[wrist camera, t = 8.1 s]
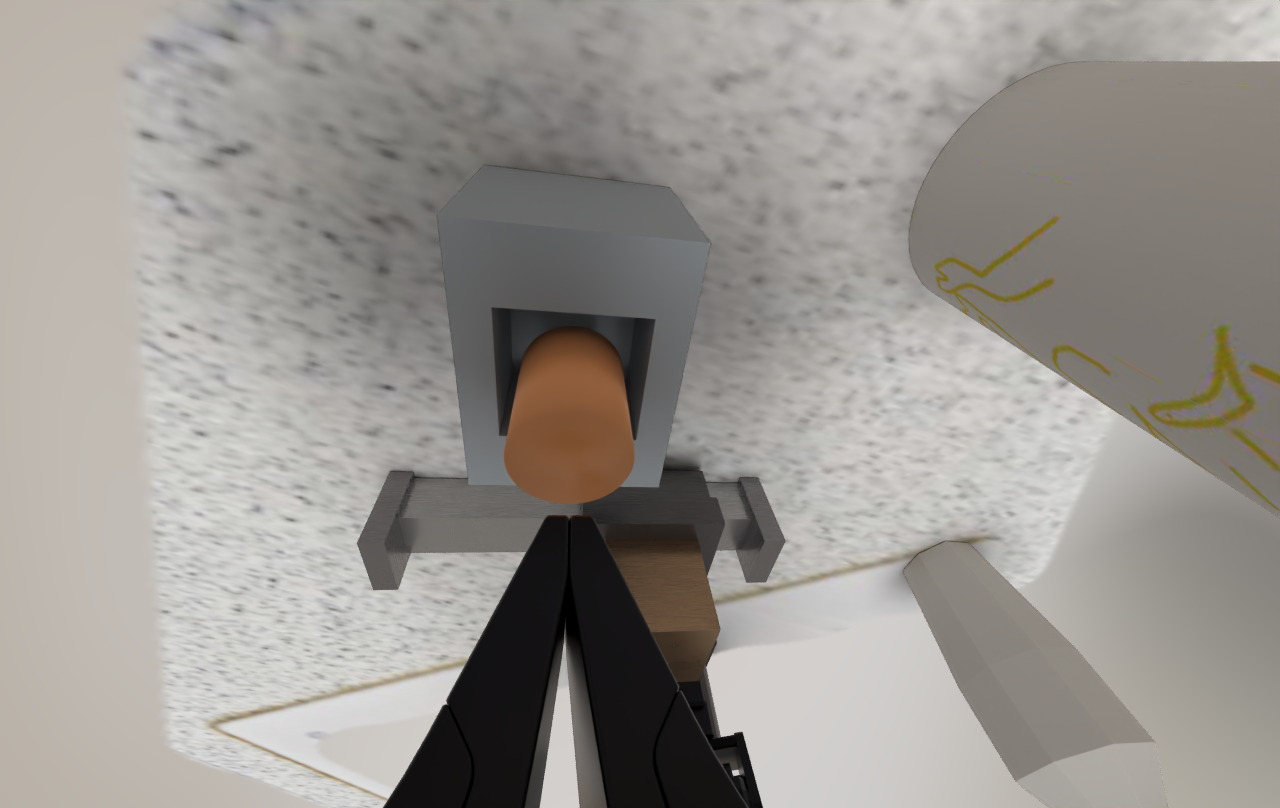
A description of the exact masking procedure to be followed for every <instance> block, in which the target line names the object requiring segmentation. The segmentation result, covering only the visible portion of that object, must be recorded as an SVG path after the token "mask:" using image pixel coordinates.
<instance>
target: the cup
mask: <svg viewBox="0 0 1280 808" xmlns="http://www.w3.org/2000/svg"><path fill="white" fill-rule="evenodd" d="M909 251H910V257H911V261H912V265H913V268H914V270H915V272H916V274H917V276H918V278H919V279H920V281H921V282H922V283H923V284H924V285H925V287H926V288H928V289H929V290H930V291H931V292H933V293H934V294H936V295H937V296H939V297H940V298H942V299H943V300H945V301H946V302H948V303H949V304H951V305H953V306H954V307H956V308H957V309H959V310H960V311H962V312H963V313H965V314H966V315H968V316H969V317H971V318H973V319H974V320H976V321H977V322H979V323H980V324H982V325H983V326H985V327H986V328H988V329H989V330H991V331H993V332H994V333H996V334H997V335H999V336H1000V337H1002V338H1003V339H1005V340H1006V341H1008V342H1009V343H1011V344H1012V345H1014V346H1016V347H1017V348H1019V349H1020V350H1022V351H1023V352H1025V353H1026V354H1028V355H1029V356H1031V357H1032V358H1034V359H1036V360H1037V361H1039V362H1040V363H1042V364H1043V365H1045V366H1046V367H1048V368H1049V369H1051V370H1052V371H1054V372H1056V373H1057V374H1059V375H1060V376H1062V377H1063V378H1065V379H1066V380H1068V381H1069V382H1071V383H1072V384H1074V385H1076V386H1077V387H1079V388H1080V389H1082V390H1083V391H1085V392H1086V393H1088V394H1089V395H1091V396H1092V397H1094V398H1095V399H1097V400H1099V401H1100V402H1102V403H1103V404H1105V405H1106V406H1108V407H1109V408H1111V409H1112V410H1114V411H1115V412H1117V413H1119V414H1120V415H1122V416H1123V417H1125V418H1126V419H1128V420H1129V421H1131V422H1132V423H1134V424H1136V425H1137V426H1139V427H1140V428H1142V429H1143V430H1145V431H1146V432H1148V433H1149V434H1151V435H1153V436H1154V437H1155V438H1157V439H1159V440H1160V441H1162V442H1163V443H1165V444H1166V445H1168V446H1169V447H1171V448H1172V449H1174V450H1175V451H1177V452H1179V453H1180V454H1182V455H1183V456H1185V457H1186V458H1188V459H1189V460H1191V461H1192V462H1194V463H1195V464H1197V465H1198V466H1200V467H1202V468H1203V469H1205V470H1206V471H1208V472H1209V473H1211V474H1212V475H1214V476H1216V477H1217V478H1218V479H1220V480H1222V481H1223V482H1225V483H1226V484H1228V485H1229V486H1231V487H1232V488H1234V489H1235V490H1237V491H1239V492H1240V493H1242V494H1243V495H1245V496H1246V497H1248V498H1249V499H1251V500H1252V501H1254V502H1256V503H1257V504H1258V505H1260V506H1261V507H1263V508H1265V509H1266V510H1268V511H1269V512H1271V513H1272V514H1274V515H1275V516H1277V517H1279V518H1280V62H1072V63H1065V64H1060V65H1056V66H1052V67H1049V68H1046V69H1043V70H1040V71H1038V72H1035V73H1033V74H1031V75H1029V76H1027V77H1025V78H1023V79H1021V80H1019V81H1017V82H1016V83H1014V84H1012V85H1010V86H1009V87H1007V88H1006V89H1004V90H1003V91H1001V92H1000V93H999V94H997V95H996V96H994V97H993V98H992V99H990V100H989V101H988V102H987V103H986V104H984V105H983V106H982V107H981V108H980V109H979V110H978V111H976V112H975V113H974V114H973V115H972V116H971V117H970V118H969V119H968V120H967V121H966V122H965V123H964V124H963V125H962V126H961V128H960V129H959V130H958V131H957V132H956V133H955V134H954V136H953V137H952V138H951V139H950V141H949V142H948V143H947V145H946V146H945V147H944V149H943V150H942V151H941V153H940V154H939V156H938V157H937V159H936V161H935V162H934V164H933V166H932V167H931V169H930V171H929V173H928V174H927V176H926V178H925V180H924V182H923V185H922V187H921V189H920V192H919V194H918V197H917V200H916V203H915V206H914V209H913V213H912V218H911V223H910V230H909Z"/></svg>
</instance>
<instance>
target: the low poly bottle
mask: <svg viewBox="0 0 1280 808" xmlns="http://www.w3.org/2000/svg"><path fill="white" fill-rule="evenodd" d="M903 573H904V575H905V577H906V579H907V581H908V583H909V585H910V587H911V589H912V591H913V594H914V596H915V598H916V600H917V602H918V604H919V606H920V608H921V610H922V612H923V614H924V617H925V619H926V621H927V623H928V625H929V627H930V629H931V631H932V633H933V635H934V637H935V639H936V642H937V644H938V646H939V648H940V650H941V652H942V654H943V656H944V658H945V660H946V662H947V664H948V666H949V669H950V671H951V673H952V675H953V677H954V679H955V681H956V683H957V685H958V687H959V689H960V691H961V692H962V694H963V696H964V697H965V699H966V701H967V702H968V704H969V706H970V707H971V709H972V711H973V712H974V714H975V716H976V717H977V719H978V721H979V722H980V724H981V725H982V727H983V729H984V730H985V732H986V734H987V735H988V737H989V739H990V740H991V742H992V744H993V745H994V747H995V749H996V750H997V752H998V753H999V755H1000V757H1001V758H1002V760H1003V762H1004V763H1005V765H1006V767H1007V768H1008V770H1009V772H1010V773H1011V775H1012V776H1013V778H1014V780H1015V781H1016V782H1017V783H1018V784H1019V785H1020V786H1021V787H1022V788H1023V789H1025V790H1026V791H1027V792H1029V793H1030V794H1032V795H1033V796H1034V797H1035V798H1037V799H1038V800H1039V801H1041V802H1042V803H1044V804H1045V805H1046V806H1048V807H1049V808H1168V804H1167V799H1166V794H1165V789H1164V784H1163V779H1162V774H1161V768H1160V763H1159V758H1158V753H1157V748H1156V743H1155V741H1154V740H1153V739H1152V737H1151V736H1150V735H1149V734H1148V733H1147V732H1146V730H1145V729H1144V728H1143V727H1142V726H1141V724H1140V723H1139V722H1138V721H1137V720H1136V719H1135V717H1134V716H1133V715H1132V714H1131V713H1130V711H1129V710H1128V709H1127V708H1126V707H1125V706H1124V704H1123V703H1122V702H1121V701H1120V700H1119V699H1118V697H1117V696H1116V695H1115V694H1114V693H1113V691H1112V690H1111V689H1110V688H1109V687H1108V686H1107V685H1106V683H1105V682H1104V681H1103V680H1102V678H1101V677H1100V676H1099V675H1098V674H1097V673H1096V672H1095V670H1094V669H1093V668H1092V667H1091V665H1090V664H1089V663H1088V662H1087V661H1086V660H1085V658H1084V657H1083V656H1082V655H1081V654H1080V653H1079V651H1078V650H1077V649H1076V648H1075V647H1074V646H1073V645H1072V644H1071V643H1070V642H1069V641H1068V640H1067V639H1066V638H1065V637H1064V636H1063V635H1062V634H1061V633H1060V632H1059V631H1058V630H1057V629H1056V628H1055V627H1054V626H1053V625H1052V624H1051V623H1050V622H1049V621H1048V620H1047V619H1046V618H1045V617H1044V616H1043V615H1042V614H1041V613H1040V612H1039V611H1038V610H1037V609H1035V608H1034V607H1033V606H1032V605H1031V604H1030V603H1029V602H1028V601H1027V600H1026V599H1025V598H1024V597H1023V596H1022V595H1021V594H1020V593H1019V592H1018V591H1017V590H1016V589H1015V588H1014V587H1013V586H1012V585H1011V584H1010V583H1009V582H1008V581H1007V580H1006V579H1005V578H1004V577H1003V576H1002V575H1001V574H1000V573H999V572H998V571H997V570H996V569H995V568H994V567H993V566H992V565H991V564H990V563H989V562H988V561H987V560H986V559H985V558H984V557H983V556H982V555H981V554H980V553H979V552H978V551H977V550H975V549H974V548H973V547H972V546H971V545H970V544H969V543H963V542H950V541H945V542H943V543H941V544H938V545H936V546H934V547H932V548H930V549H928V550H926V551H924V552H921V553H919V554H918V555H917V556H916V557H915V558H914V559H913V560H912V561H911V562H910V563H909V565H908V566H907V567H906V568H905V569H904V570H903Z"/></svg>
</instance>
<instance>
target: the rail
mask: <svg viewBox="0 0 1280 808" xmlns="http://www.w3.org/2000/svg"><path fill="white" fill-rule="evenodd" d="M706 484H707V488H708V491H709V494H710V497H717V499H718V502H719V505H720V508H721V512H722V515H723V518H724V521H725V527H724V530H723V532H722V535H721V538H720V541H719V544H718V547H717V549H716V550H736V552H737V555H738V558H739V561H740V564H741V567H742V570H743V574H744V577H745V580H746V583H751V582H766V580H767V578H768V576H769V574H770V572H771V570H772V568H773V566H774V564H775V562H776V560H777V558H778V555H779V553H780V551H781V549H782V547H783V545H784V543H785V539H784V536H783V534H782V532H781V529H780V527H779V525H778V522H777V520H776V518H775V515H774V513H773V511H772V508H771V506H770V504H769V501H768V499H767V497H766V495H765V492H764V490H763V488H762V485H761V483H760V481H759V478H740V480H739V483H706ZM548 515H567V516H568V517H569V519H570V517H571V516H573V515H581V503H579V504H558V503H552V502H548V501H544V500H541V499H538V498H536V497H534V496H531V495H530V494H528V493H526V492H525V491H523V490H522V489H521V488H519V487H518V486H517V485H469V484H468V479H448V478H414V473H413V472H395V471H390V473H389V475H388V477H387V479H386V481H385V484H384V486H383V488H382V490H381V492H380V494H379V497H378V499H377V501H376V503H375V505H374V507H373V510H372V512H371V514H370V516H369V518H368V520H367V523H366V525H365V527H364V529H363V531H362V533H361V535H360V538H359V540H358V542H357V544H358V547H359V550H360V553H361V556H362V559H363V562H364V564H365V567H366V570H367V573H368V576H369V579H370V582H371V585H372V587H373V590H398V588H399V586H400V583H401V580H402V577H403V574H404V571H405V568H406V565H407V562H408V559H409V556H410V554H411V553H450V552H527V550H528V548H529V546H530V545H531V543H532V541H533V539H534V537H535V535H536V533H537V532H538V530H539V528H540V526H541V524H542V522H543V521H544V519H545V518H546V517H547V516H548Z"/></svg>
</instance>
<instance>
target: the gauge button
mask: <svg viewBox="0 0 1280 808" xmlns="http://www.w3.org/2000/svg"><path fill="white" fill-rule="evenodd" d="M634 460H635V452H634V444H633V437H632V430H631V423H630V416H629V409H628V402H627V395H626V388H625V381H624V374H623V367H622V361H621V357H620V355H619V353H618V351H617V349H616V348H615V346H614V345H613V344H612V343H611V342H610V341H609V340H608V339H607V338H606V337H604V336H603V335H601V334H599V333H598V332H596V331H593V330H591V329H588V328H584V327H577V326H564V327H558V328H554V329H551V330H548V331H546V332H544V333H542V334H541V335H539V336H538V337H536V338H535V339H534V340H533V341H532V342H531V343H530V345H529V346H528V347H527V349H526V350H525V352H524V355H523V357H522V362H521V367H520V372H519V377H518V382H517V388H516V393H515V398H514V403H513V408H512V413H511V419H510V424H509V429H508V434H507V439H506V445H505V450H504V463H505V467H506V470H507V472H508V474H509V476H510V478H511V479H512V480H513V482H514V483H515V484H516V485H517V486H518V487H519V488H521V489H522V490H523V491H525V492H526V493H528V494H530V495H531V496H534V497H536V498H538V499H541V500H544V501H548V502H552V503H558V504H579V503H586V502H590V501H594V500H597V499H600V498H602V497H604V496H606V495H608V494H610V493H612V492H613V491H615V490H616V489H617V488H618V487H620V486H621V485H622V484H623V483H624V482H625V480H626V479H627V478H628V476H629V475H630V473H631V471H632V468H633V465H634Z"/></svg>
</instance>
